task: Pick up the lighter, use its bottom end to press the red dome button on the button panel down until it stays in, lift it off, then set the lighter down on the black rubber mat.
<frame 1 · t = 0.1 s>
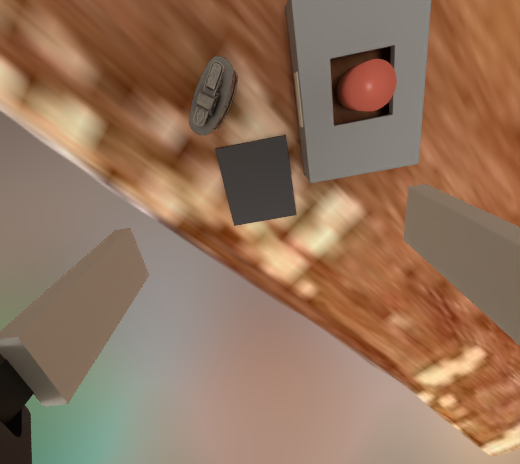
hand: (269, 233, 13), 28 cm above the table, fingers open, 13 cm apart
button panel: (348, 90, 35), on the table
red dome button: (364, 87, 30), point 5 cm above the table, slide at 0.0 cm
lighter: (219, 99, 35), on the table
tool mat: (258, 182, 40), on the table
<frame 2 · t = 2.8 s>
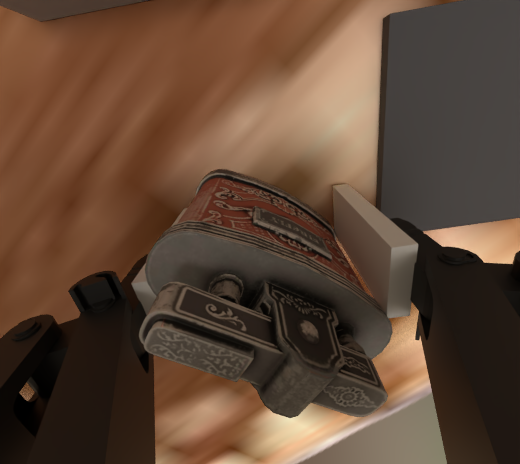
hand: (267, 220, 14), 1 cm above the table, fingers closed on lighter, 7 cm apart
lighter: (267, 214, 15), on the table, touching gripper
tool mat: (503, 123, 13), on the table
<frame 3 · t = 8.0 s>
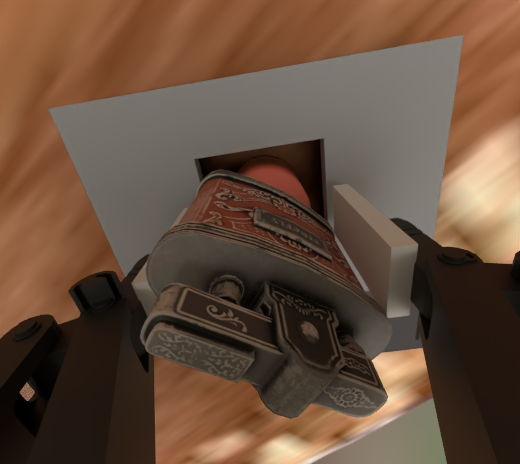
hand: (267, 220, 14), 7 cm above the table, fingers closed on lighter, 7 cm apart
button panel: (264, 186, 20), on the table
red dome button: (266, 201, 17), point 3 cm above the table, slide at 2.1 cm, touching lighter
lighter: (267, 215, 15), point 6 cm above the table, touching gripper, red dome button
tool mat: (388, 310, 26), on the table
when the fingers open (3 cm above the table, at t = 13.4 s): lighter drops 1 cm, resting on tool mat.
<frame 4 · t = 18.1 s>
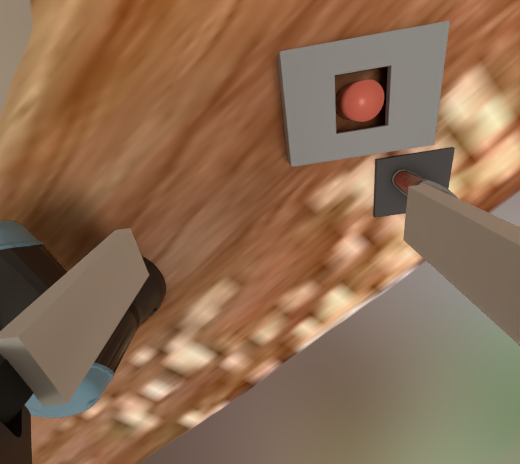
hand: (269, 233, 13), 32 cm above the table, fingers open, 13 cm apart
button panel: (350, 101, 39), on the table
red dome button: (358, 101, 36), point 3 cm above the table, slide at 2.1 cm
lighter: (410, 184, 44), resting on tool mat
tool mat: (410, 183, 44), on the table
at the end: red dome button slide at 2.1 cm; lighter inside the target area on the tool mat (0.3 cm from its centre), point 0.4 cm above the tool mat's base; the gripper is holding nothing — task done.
